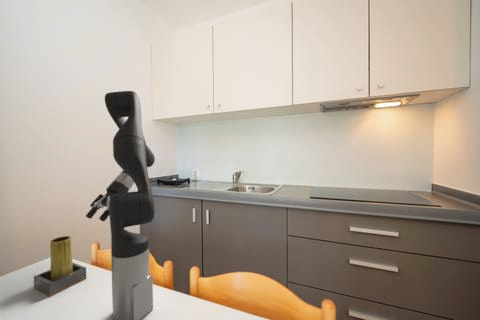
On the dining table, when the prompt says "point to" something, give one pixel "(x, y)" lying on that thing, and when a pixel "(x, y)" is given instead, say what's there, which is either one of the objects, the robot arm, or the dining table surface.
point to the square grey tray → (59, 280)
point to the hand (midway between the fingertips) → (94, 218)
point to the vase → (61, 257)
